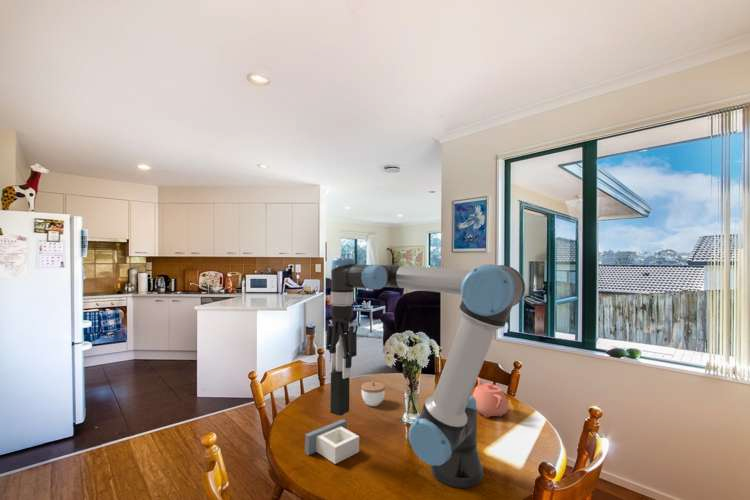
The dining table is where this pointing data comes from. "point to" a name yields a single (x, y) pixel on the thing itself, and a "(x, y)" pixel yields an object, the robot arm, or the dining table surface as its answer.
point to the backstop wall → (311, 437)
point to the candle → (339, 384)
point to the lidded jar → (373, 393)
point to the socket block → (337, 444)
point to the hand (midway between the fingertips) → (340, 374)
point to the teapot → (490, 400)
